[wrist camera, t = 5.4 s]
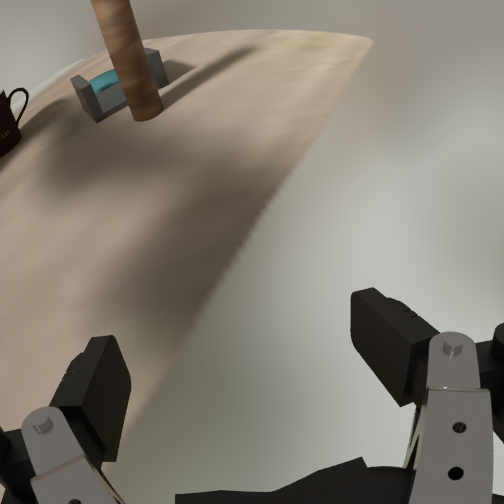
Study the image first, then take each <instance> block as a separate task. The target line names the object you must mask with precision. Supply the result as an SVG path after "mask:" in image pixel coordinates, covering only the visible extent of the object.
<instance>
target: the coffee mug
mask: <svg viewBox="0 0 504 504" xmlns="http://www.w3.org/2000/svg"><path fill="white" fill-rule="evenodd" d="M17 91H23V92H24V93H25V94H26V102H25V105H24V107H23V109H22V111H21V113H20V115H19V117H18V119H17V120H16V121H15V118H14V116H13V113H12V110H11V108H10V103H11V97H12V95H13V94H14V93H15V92H17ZM28 98H29V94H28V92H27V90H26V89H24V88H17V89H15V90H13V91H12V92H11V93H10V95H9V97H8V98H7V97H6V94H5V92H4V90H3V89H2V90H0V157H2V156H4V155H5V154H7V153H8V152H9V151H10V150H11V149H13V148H14V147H15V146H16V145H17V143H18V142H19V141H20V140H21V138H22V135H21V133H20V130H19V128H18V122H19V120H20V118H21V116H22V114H23V112H24V110H25V108H26V106H27V103H28Z"/></svg>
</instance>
